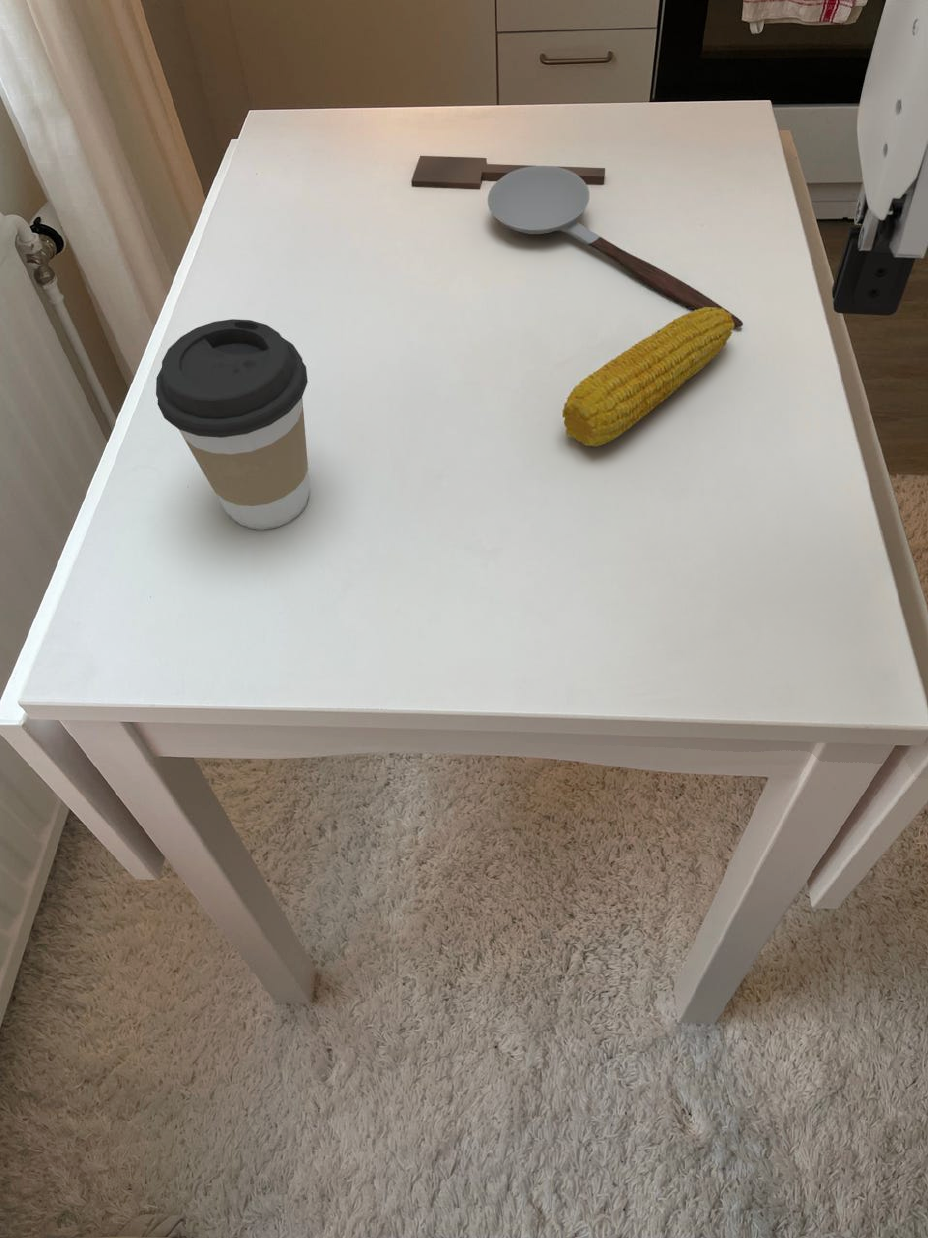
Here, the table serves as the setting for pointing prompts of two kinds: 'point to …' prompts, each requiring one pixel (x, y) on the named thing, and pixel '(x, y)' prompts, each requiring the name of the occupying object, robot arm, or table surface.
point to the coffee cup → (241, 417)
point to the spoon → (575, 223)
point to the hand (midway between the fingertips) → (862, 304)
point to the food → (644, 376)
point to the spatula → (478, 172)
